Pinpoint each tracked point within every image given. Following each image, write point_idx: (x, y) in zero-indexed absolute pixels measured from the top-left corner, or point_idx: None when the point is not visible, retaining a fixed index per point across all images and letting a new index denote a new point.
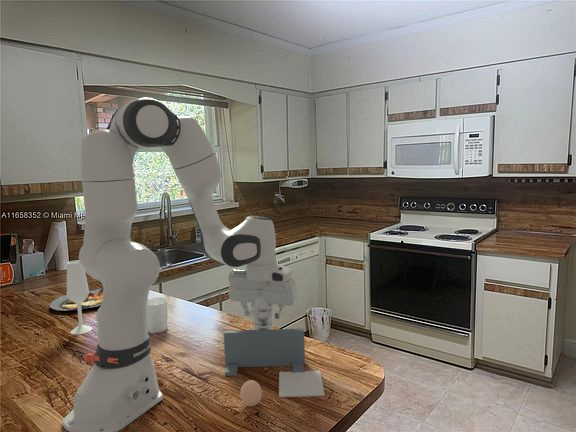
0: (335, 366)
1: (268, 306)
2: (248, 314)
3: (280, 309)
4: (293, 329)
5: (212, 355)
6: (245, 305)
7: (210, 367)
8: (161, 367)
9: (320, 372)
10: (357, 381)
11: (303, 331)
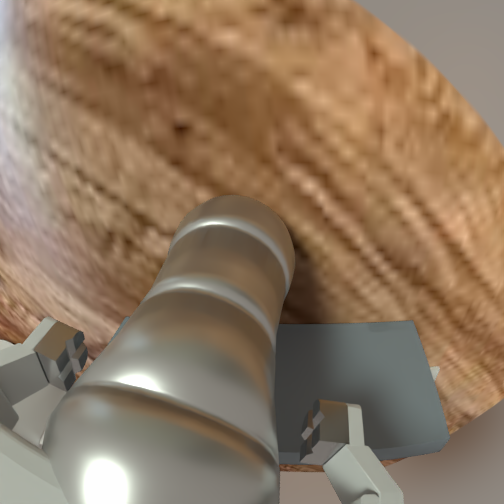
0: (489, 336)
1: None
2: (76, 369)
3: (347, 501)
4: (398, 450)
5: (60, 255)
6: (9, 382)
7: (93, 324)
8: (4, 305)
9: (436, 375)
10: (495, 385)
11: (435, 450)
